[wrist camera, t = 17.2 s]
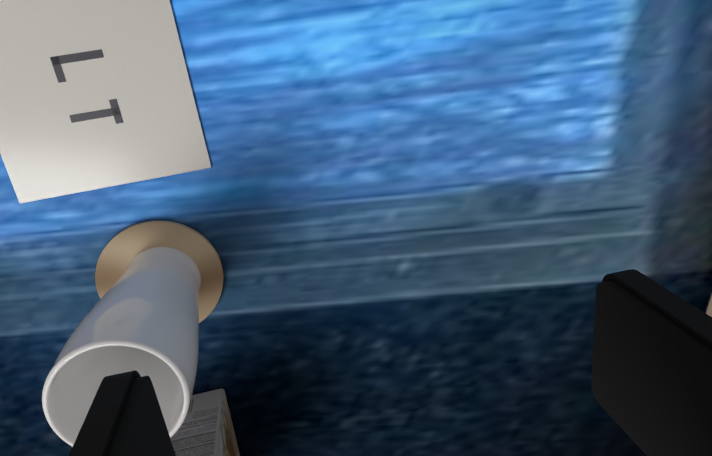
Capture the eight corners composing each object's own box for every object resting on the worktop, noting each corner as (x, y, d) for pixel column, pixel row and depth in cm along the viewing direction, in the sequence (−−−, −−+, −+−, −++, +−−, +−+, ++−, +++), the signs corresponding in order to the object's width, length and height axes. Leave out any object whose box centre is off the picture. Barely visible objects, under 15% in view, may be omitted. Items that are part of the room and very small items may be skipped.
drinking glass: (94, 275, 38) (4, 405, 24) (164, 215, 38) (114, 311, 24) (164, 335, 40) (119, 483, 26) (230, 279, 40) (221, 400, 26)
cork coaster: (80, 234, 37) (77, 236, 37) (207, 209, 39) (206, 211, 38) (118, 342, 40) (116, 346, 40) (235, 315, 42) (235, 319, 41)
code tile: (-58, -2, 32) (-60, -2, 31) (161, -32, 33) (161, -32, 33) (20, 202, 36) (19, 203, 36) (211, 167, 38) (211, 167, 38)
